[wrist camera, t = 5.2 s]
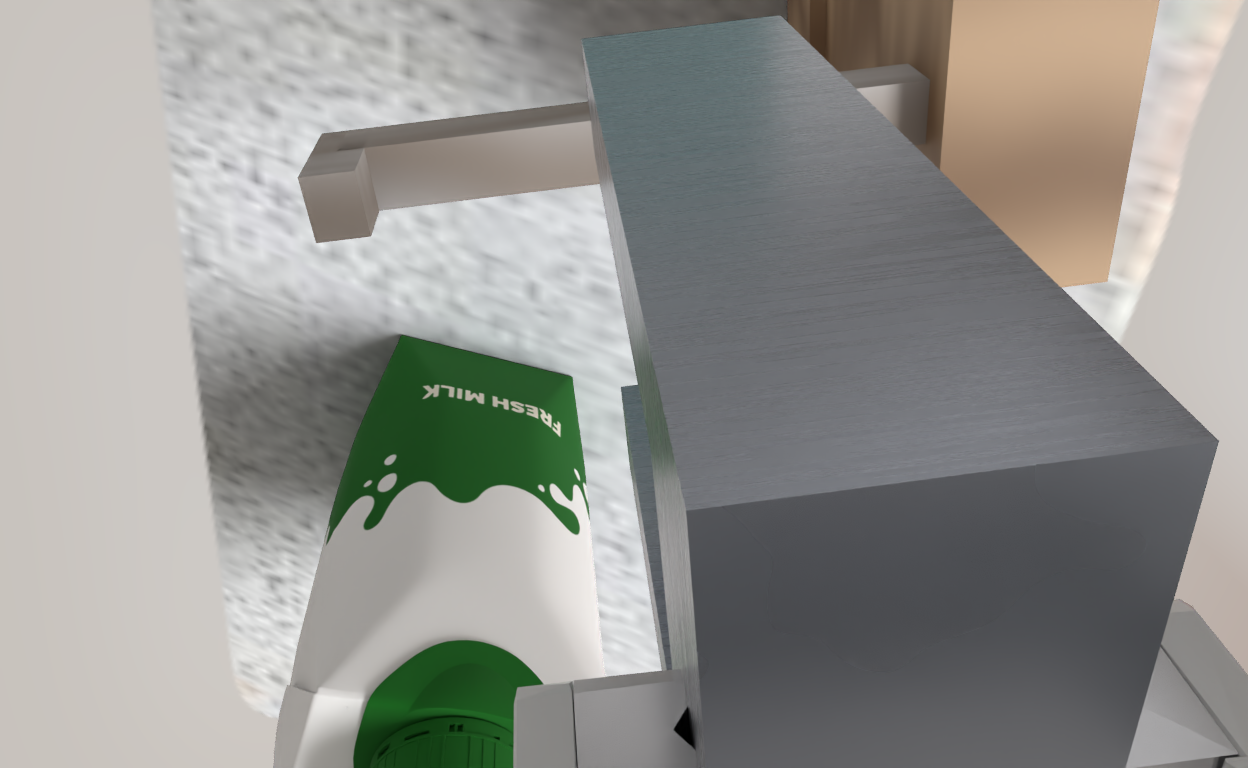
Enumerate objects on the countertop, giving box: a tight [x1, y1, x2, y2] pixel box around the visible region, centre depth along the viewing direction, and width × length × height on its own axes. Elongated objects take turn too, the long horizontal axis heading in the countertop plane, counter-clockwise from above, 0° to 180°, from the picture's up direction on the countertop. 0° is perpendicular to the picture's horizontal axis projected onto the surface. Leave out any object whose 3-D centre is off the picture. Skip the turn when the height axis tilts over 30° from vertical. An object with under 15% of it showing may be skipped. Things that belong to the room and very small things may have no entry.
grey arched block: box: [581, 15, 1219, 768], centre depth 12 cm, size 8×3×11 cm, turn 5°
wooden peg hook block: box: [298, 0, 1159, 287], centre depth 27 cm, size 12×20×14 cm, turn 95°
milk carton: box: [273, 335, 606, 768], centre depth 32 cm, size 9×9×20 cm
